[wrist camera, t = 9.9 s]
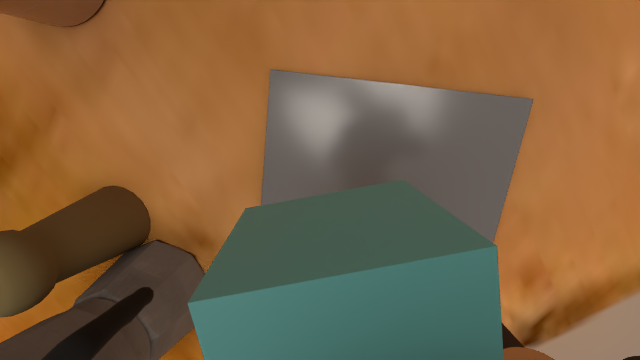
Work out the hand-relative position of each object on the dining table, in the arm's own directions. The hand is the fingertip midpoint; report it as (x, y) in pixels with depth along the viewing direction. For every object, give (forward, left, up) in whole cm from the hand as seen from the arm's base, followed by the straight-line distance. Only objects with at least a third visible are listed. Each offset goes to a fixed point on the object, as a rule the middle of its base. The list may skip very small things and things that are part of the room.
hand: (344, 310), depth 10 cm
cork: (-20, -6, -15) cm, 26 cm away
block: (+2, -6, +3) cm, 7 cm away
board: (+2, 0, -15) cm, 15 cm away
